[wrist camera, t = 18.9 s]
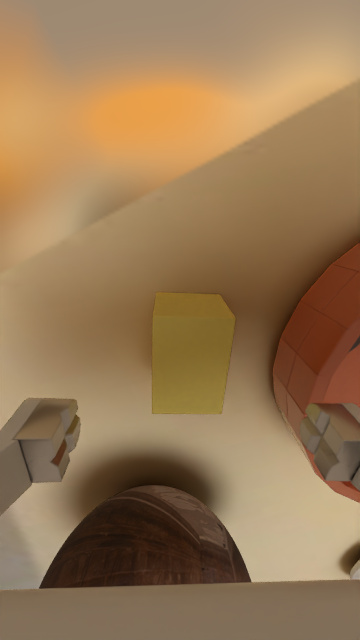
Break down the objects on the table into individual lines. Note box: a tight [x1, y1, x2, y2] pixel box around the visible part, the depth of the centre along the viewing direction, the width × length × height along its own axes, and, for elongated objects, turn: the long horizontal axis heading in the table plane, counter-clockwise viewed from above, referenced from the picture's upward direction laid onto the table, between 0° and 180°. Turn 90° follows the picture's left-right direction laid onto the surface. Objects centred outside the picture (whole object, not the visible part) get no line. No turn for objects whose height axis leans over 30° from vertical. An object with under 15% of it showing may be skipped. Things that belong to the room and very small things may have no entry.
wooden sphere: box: [39, 485, 251, 589], centre depth 16 cm, size 15×15×15 cm
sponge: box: [152, 292, 236, 414], centre depth 14 cm, size 6×4×4 cm, turn 177°
